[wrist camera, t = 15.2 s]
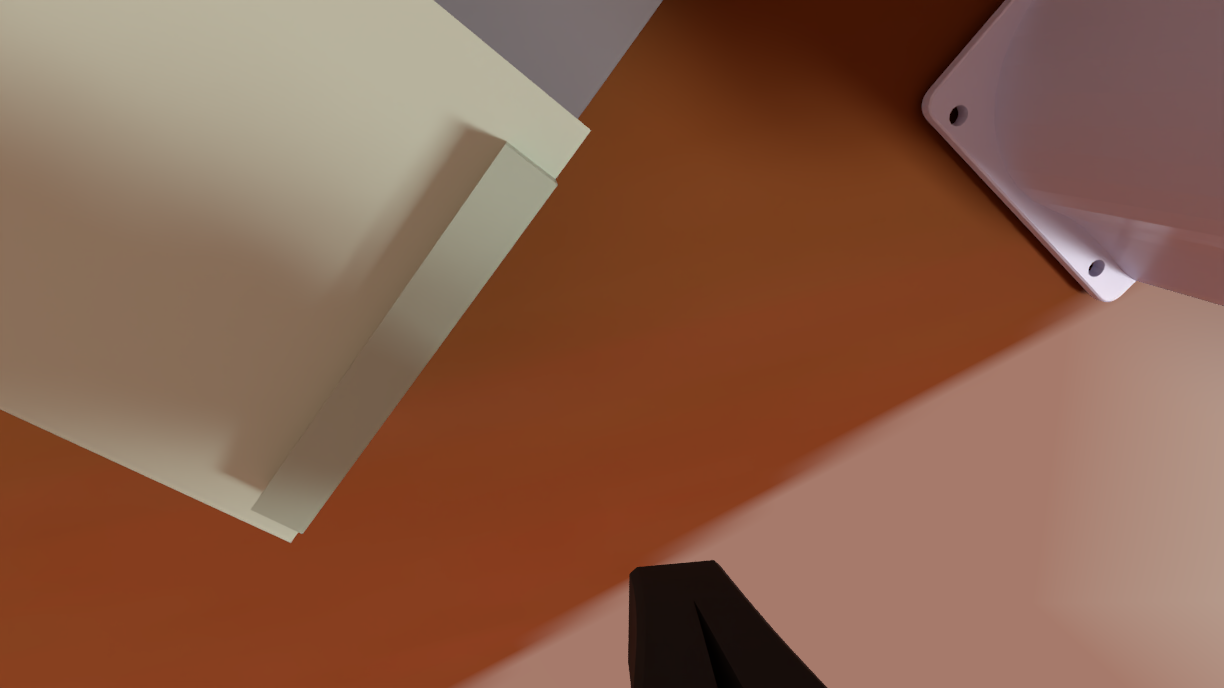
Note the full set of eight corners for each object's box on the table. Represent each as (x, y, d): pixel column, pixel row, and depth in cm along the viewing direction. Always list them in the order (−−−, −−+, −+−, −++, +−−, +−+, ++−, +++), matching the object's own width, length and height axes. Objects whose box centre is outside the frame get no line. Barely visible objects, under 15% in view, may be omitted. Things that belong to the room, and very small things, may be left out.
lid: (585, 127, 11) (595, 132, 10) (307, 512, 13) (275, 570, 12) (-429, -710, 7) (-749, -980, 5) (-608, 72, 9) (-871, 65, 7)
